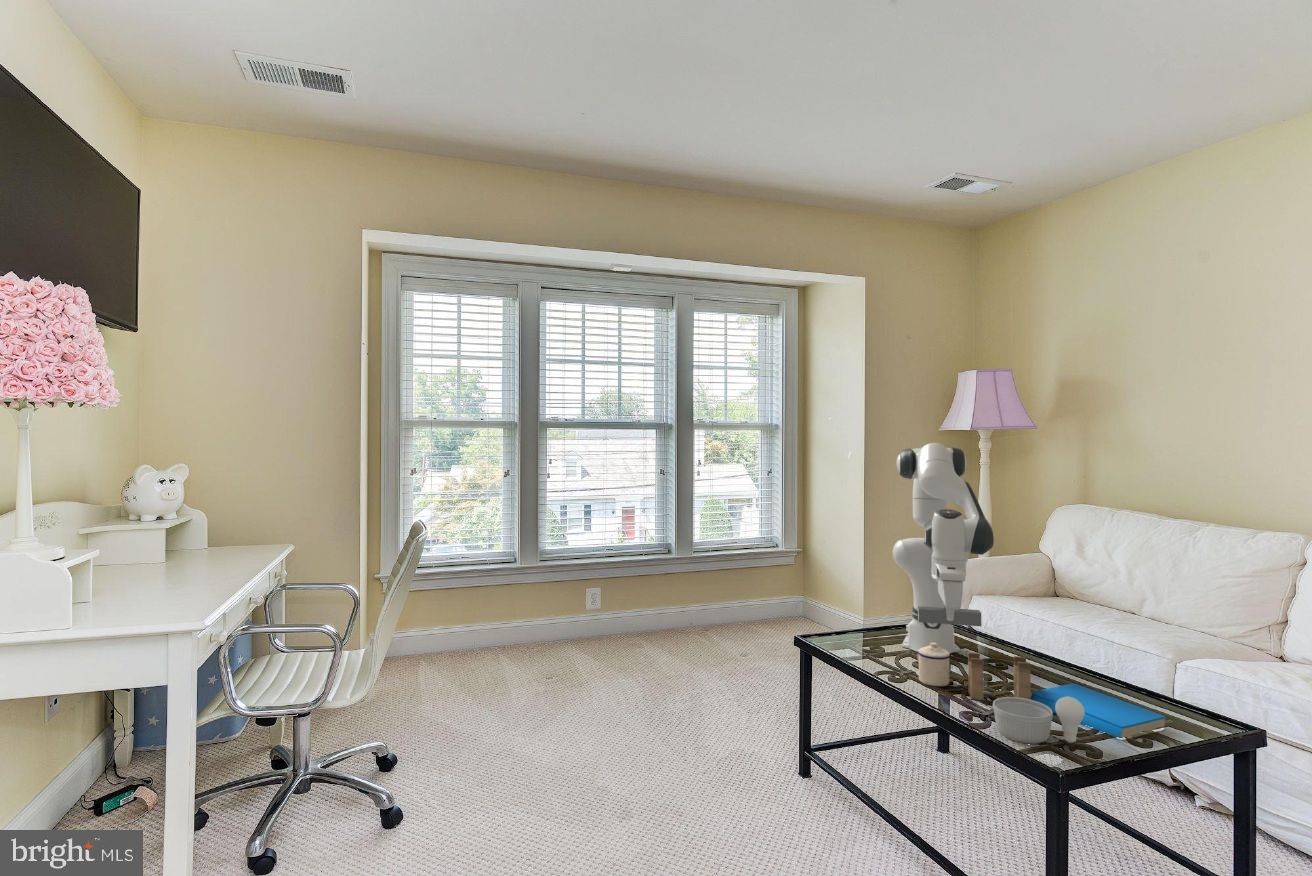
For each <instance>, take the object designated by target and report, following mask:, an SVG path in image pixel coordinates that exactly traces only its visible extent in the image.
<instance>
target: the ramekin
mask: <svg viewBox="0 0 1312 876" xmlns="http://www.w3.org/2000/svg"><path fill="white" fill-rule="evenodd" d="M992 709H993V713H994V720H995V727H996V729H997V731H998V732H999V733H1000V734H1001V735H1002V736H1003V737H1005V738H1007V739H1009V740H1012V741H1015V742H1019V743H1023V744H1032V745H1033V744H1035V745H1036V744H1041V742H1042V743H1044V742H1046V741H1047V740H1048V739H1049V738H1050V734H1051V729H1052V720H1053V718H1054V714H1053V712H1052V710H1051V709H1050V708H1049V707H1048V706H1046V705H1044V704H1042V703H1039V702H1037V701H1033V700H1029V699H1024V698H1017V697H1014V696H1004V697H998V698H996V699H995V700H993V702H992Z"/></svg>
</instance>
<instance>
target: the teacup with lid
mask: <svg viewBox="0 0 1312 876" xmlns="http://www.w3.org/2000/svg"><path fill="white" fill-rule="evenodd" d="M950 658H951V653H950V654H949V652H948V651H946V650H944V649H942V648H940V647H938V646H937V643H931V644H930V646H927V647H923V648H920V649H919V650H918V652H917V662H918V680H919V681H920V682H921V683H922V684H924V685H928V686H933V687H945V686H948V685H949V684H950Z"/></svg>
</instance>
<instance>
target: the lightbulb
mask: <svg viewBox="0 0 1312 876" xmlns="http://www.w3.org/2000/svg"><path fill="white" fill-rule="evenodd" d="M1055 710H1056V713H1057V714H1056V713H1055V714H1056V715H1057V717H1058V719H1059V721H1060V723H1061V726H1062V727H1061V728H1062V729H1061V730H1062V731H1063V739H1064V740H1065V741H1066V743H1069V744H1073V743H1075V742H1077V734H1078V731H1079V726H1080V722H1081V721H1082V719H1083V718H1084V715H1085V711H1084V707H1083V706H1082V704H1081V703H1080V702H1079V701H1078V700H1077V699H1075V698H1072V697H1062V698H1060V699H1059V700H1058V701H1057V702H1056V705H1055Z"/></svg>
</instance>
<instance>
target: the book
mask: <svg viewBox="0 0 1312 876" xmlns="http://www.w3.org/2000/svg"><path fill="white" fill-rule="evenodd" d="M1062 697H1072V698H1075V699H1077V700H1078V701H1079V702H1080V703H1081V704H1082V706H1083V707H1084V711H1085V715H1084V718H1083V719H1082V721H1081V722H1080V723H1081V725H1082V724H1083V726H1085V725H1087V726H1089V727H1093V728H1095V729H1097V730H1099V731H1102V732H1105V733H1109V734H1112V735H1114V736H1116V737H1119V738H1123V737H1127V736H1130V735H1134V734H1137V733H1140V732H1142V731H1147V730H1151V729H1155V728H1157V727H1163V726H1165V727H1166V724H1165V723H1166V721H1165V720H1166V715H1163V714H1160V713H1157V712H1155V711H1152V710H1149V709H1146V708H1143V707H1141V706H1139V705H1136V704H1132V703H1129V702H1127V701H1124V700H1121V699H1119V698H1116V697H1113V696H1110V695H1108V694H1105V693H1102V692H1100V691H1099V692H1098V691H1097V690H1093V689H1091V688H1087V687H1085V686H1082V685H1080V684H1076V683H1067V684H1063V685H1062V684H1061V685H1058V686H1057V685H1056V686H1053V687H1048V688H1043V689H1037V690H1033V691H1032V693H1031V700H1033V701H1037V702H1039V703H1042V704H1044V705H1046V706H1048V707H1049V708H1050V709H1051V710H1052V712H1053V713H1054V714H1056V715H1057V713H1056V710H1055V705H1056V702H1057V701H1058V700H1059V699H1060V698H1062ZM1087 726H1086V727H1087ZM1089 727H1088V728H1089ZM1097 730H1096V731H1097ZM1099 731H1098V732H1099Z"/></svg>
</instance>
